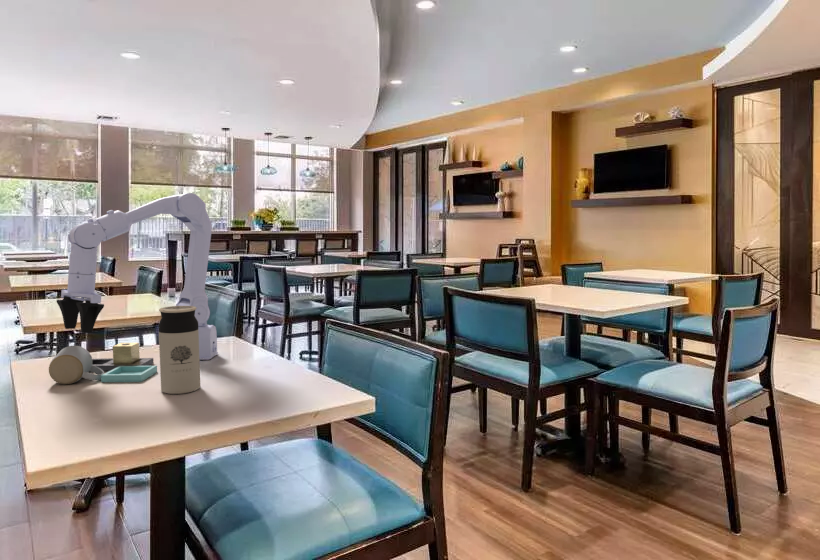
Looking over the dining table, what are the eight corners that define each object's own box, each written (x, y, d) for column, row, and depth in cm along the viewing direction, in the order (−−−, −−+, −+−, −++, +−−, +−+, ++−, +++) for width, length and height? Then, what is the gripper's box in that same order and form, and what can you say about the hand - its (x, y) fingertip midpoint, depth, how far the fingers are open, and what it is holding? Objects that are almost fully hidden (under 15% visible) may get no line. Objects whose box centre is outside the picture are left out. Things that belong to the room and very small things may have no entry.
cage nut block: (139, 365, 149) (138, 342, 148) (132, 369, 144) (131, 345, 144) (122, 365, 149) (121, 342, 148) (113, 370, 144) (112, 345, 144)
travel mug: (165, 386, 129) (162, 306, 128) (202, 383, 131) (200, 304, 129) (157, 396, 122) (153, 311, 120) (197, 393, 123) (194, 309, 122)
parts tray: (157, 372, 142) (156, 365, 142) (141, 381, 133) (141, 374, 133) (119, 372, 141) (119, 366, 141) (101, 382, 133) (101, 375, 132)
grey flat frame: (153, 363, 151) (153, 357, 150) (140, 371, 143) (140, 365, 142) (83, 364, 150) (82, 358, 150) (65, 371, 142) (65, 365, 142)
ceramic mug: (47, 387, 129) (45, 353, 128) (57, 378, 136) (55, 345, 136) (100, 384, 132) (99, 350, 131) (107, 375, 140) (106, 343, 139)
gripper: (49, 271, 139) (45, 327, 139) (81, 275, 131) (76, 335, 131) (79, 272, 145) (75, 326, 145) (111, 276, 137) (107, 333, 137)
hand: (78, 330), depth 139 cm, fingers open, 7 cm apart
